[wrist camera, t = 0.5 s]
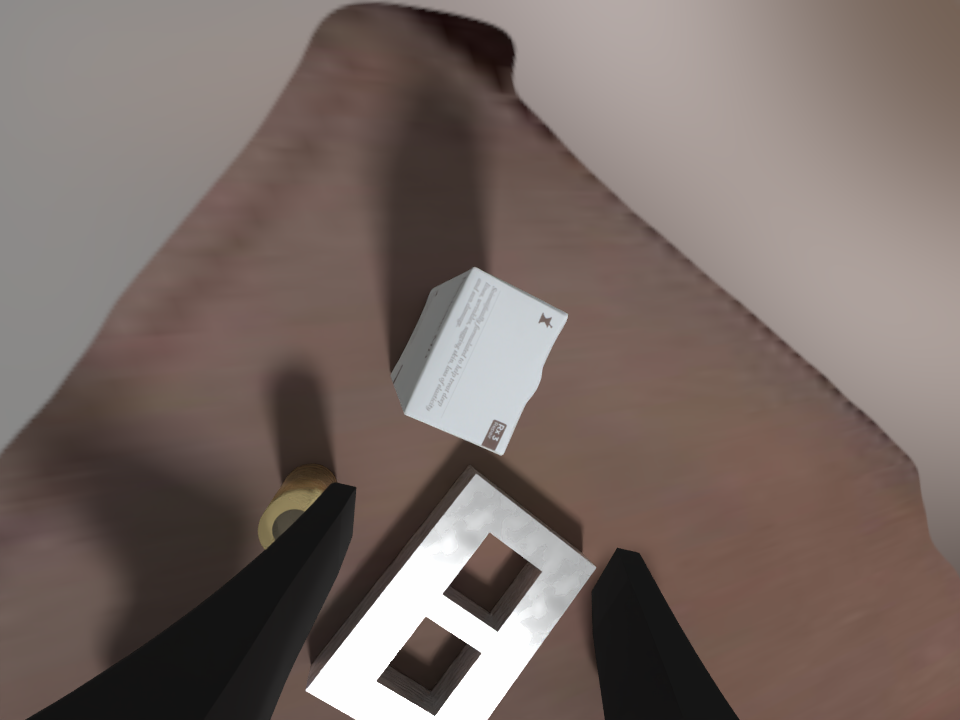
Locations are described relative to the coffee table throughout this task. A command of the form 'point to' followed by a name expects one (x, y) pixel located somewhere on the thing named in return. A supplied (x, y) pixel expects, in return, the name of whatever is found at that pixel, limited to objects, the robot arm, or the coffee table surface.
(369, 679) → the jig plate
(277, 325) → the coffee table surface
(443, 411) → the skincare box
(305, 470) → the brass sleeve
